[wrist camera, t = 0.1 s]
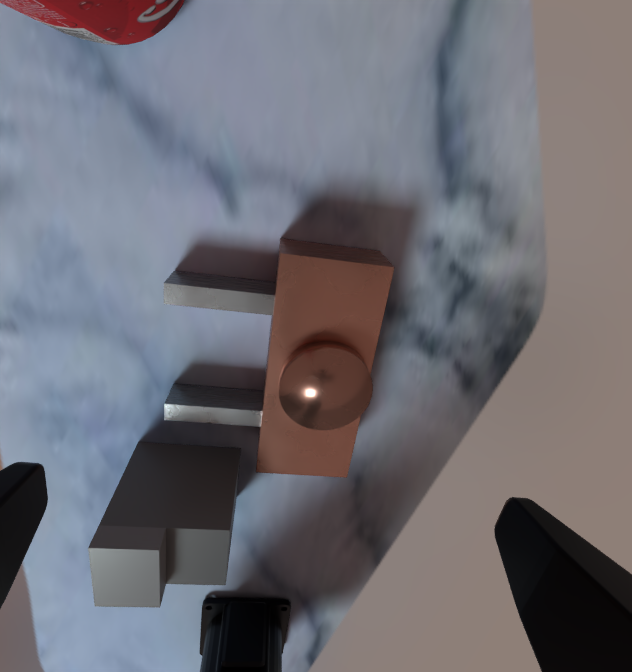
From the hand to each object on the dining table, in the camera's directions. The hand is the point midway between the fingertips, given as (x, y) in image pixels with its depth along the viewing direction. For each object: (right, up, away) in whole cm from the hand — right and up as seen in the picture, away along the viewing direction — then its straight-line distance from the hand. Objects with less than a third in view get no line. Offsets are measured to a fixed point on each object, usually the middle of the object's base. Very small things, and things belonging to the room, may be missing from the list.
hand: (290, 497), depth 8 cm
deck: (-2, +3, +15) cm, 15 cm away
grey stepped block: (-7, -5, +18) cm, 20 cm away
